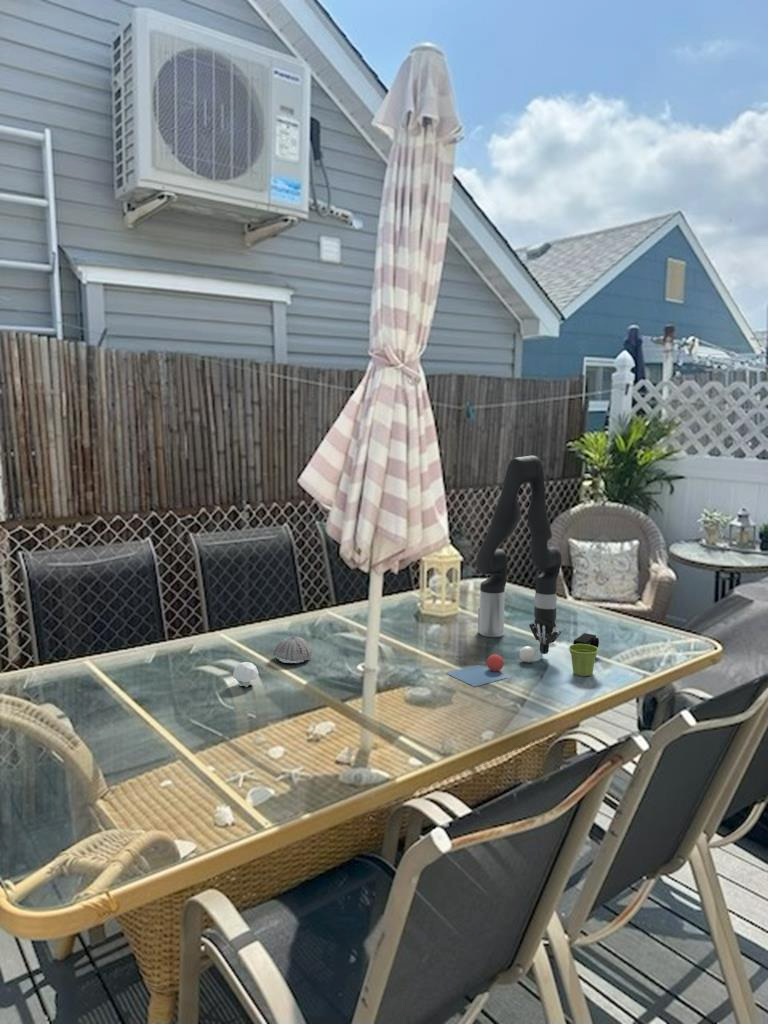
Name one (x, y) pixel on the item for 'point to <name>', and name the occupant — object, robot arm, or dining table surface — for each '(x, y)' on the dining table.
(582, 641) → the digital camera
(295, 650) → the sea urchin shell
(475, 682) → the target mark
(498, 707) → the dining table surface
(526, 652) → the cue ball
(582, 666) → the plant pot
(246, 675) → the geometric ball
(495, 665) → the red ball
